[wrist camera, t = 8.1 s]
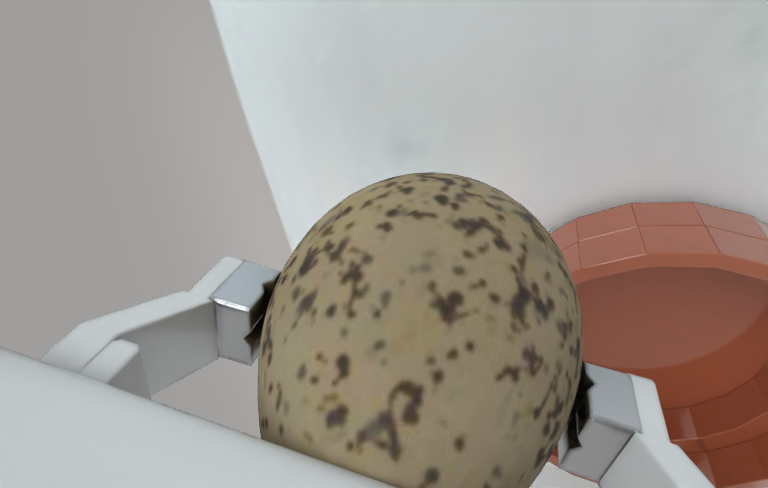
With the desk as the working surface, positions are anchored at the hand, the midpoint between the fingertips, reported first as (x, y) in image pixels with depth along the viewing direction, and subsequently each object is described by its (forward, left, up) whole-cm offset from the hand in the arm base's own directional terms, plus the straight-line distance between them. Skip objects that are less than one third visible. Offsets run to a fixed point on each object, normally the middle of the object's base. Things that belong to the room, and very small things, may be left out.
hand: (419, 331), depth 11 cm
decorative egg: (0, 0, -5) cm, 5 cm away
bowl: (+9, +12, -15) cm, 21 cm away
